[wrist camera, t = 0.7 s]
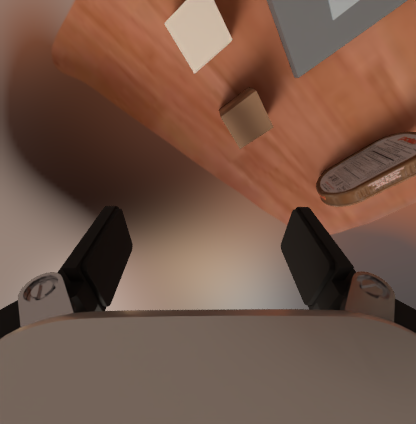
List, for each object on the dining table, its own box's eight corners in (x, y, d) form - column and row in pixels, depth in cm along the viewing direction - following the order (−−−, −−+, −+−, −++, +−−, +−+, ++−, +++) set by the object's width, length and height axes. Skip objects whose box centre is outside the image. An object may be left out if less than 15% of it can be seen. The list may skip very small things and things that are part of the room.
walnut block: (249, 86, 27) (256, 90, 23) (264, 119, 30) (273, 127, 26) (218, 110, 29) (220, 117, 25) (235, 138, 31) (240, 149, 27)
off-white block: (205, -4, 22) (204, -20, 18) (228, 44, 24) (232, 39, 20) (171, 30, 24) (164, 23, 20) (196, 72, 26) (194, 73, 22)
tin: (312, 190, 37) (336, 217, 30) (306, 178, 36) (329, 205, 29) (404, 138, 31) (458, 158, 24) (400, 121, 30) (457, 138, 23)
